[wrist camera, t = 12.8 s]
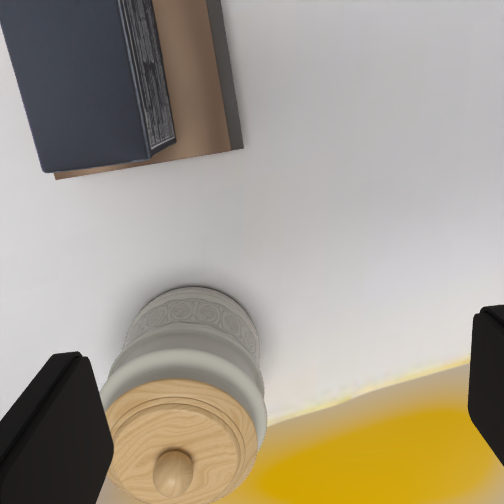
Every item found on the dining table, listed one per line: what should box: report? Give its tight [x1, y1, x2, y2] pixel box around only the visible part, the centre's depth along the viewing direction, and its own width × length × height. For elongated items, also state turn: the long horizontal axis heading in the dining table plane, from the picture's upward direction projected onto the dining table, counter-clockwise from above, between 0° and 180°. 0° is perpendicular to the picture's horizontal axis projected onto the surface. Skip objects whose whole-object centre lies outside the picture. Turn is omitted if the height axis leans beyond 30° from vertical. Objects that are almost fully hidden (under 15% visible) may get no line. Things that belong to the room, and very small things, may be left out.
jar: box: [99, 287, 267, 504], centre depth 34 cm, size 13×13×18 cm
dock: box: [54, 0, 244, 180], centre depth 33 cm, size 15×13×4 cm
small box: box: [0, 0, 177, 173], centre depth 26 cm, size 11×6×10 cm, turn 7°
